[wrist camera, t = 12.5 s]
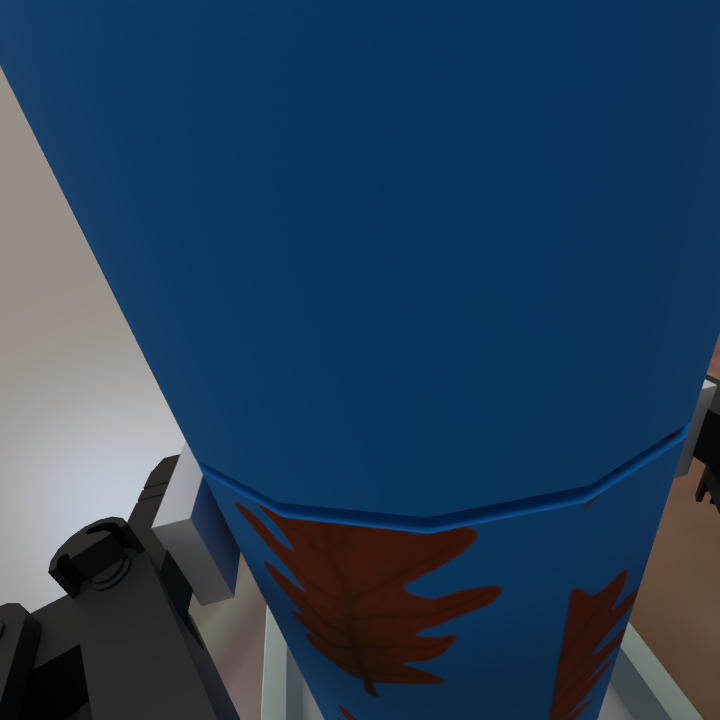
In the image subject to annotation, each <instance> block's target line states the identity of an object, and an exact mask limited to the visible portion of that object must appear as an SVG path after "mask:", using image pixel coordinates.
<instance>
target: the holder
mask: <svg viewBox="0 0 720 720" xmlns="http://www.w3.org/2000/svg"><path fill="white" fill-rule="evenodd" d="M261 720H324V718H323V716H322V714H321V712H320V710H319V708H318V706H317V704H316V702H315V700H314V698H313V696H312V694H311V692H310V690H309V688H308V686H307V684H306V682H305V680H304V678H303V676H302V674H301V672H300V670H299V668H298V665H297V663H296V661H295V659H294V657H293V655H292V653H291V651H290V649H289V647H288V645H287V643H286V641H285V639H284V637H283V635H282V633H281V631H280V629H279V627H278V625H277V623H276V621H275V619H274V617H273V615H272V613H271V611H270V609H269V607H268V605H267V615H266V633H265V651H264V670H263V688H262V706H261ZM597 720H703V718H702V717H701V716H700V714H699V713H698V712H697V710H696V709H695V708H694V707H693V705H692V704H691V703H690V701H689V700H688V699H687V697H686V696H685V695H684V693H683V692H682V691H681V689H680V688H679V687H678V686H677V684H676V683H675V682H674V680H673V679H672V678H671V676H670V675H669V674H668V672H667V671H666V670H665V669H664V667H663V666H662V665H661V663H660V662H659V661H658V659H657V658H656V657H655V655H654V654H653V653H652V651H651V650H650V649H649V648H648V646H647V645H646V644H645V642H644V641H643V640H642V638H641V637H640V636H639V634H638V633H637V632H636V631H635V629H634V628H633V627H632V625H631V624H630V623H629V621H628V624H627V628H626V631H625V634H624V637H623V640H622V643H621V647H620V650H619V653H618V656H617V659H616V662H615V666H614V669H613V672H612V675H611V678H610V681H609V685H608V688H607V691H606V694H605V697H604V700H603V704H602V707H601V710H600V713H599V716H598V719H597Z"/></svg>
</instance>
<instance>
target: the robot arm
mask: <svg viewBox="0 0 720 720" xmlns="http://www.w3.org/2000/svg"><path fill="white" fill-rule="evenodd" d="M693 456H694V457H695V458H697V459H698V460H700V461H701V462H703V463H704V464H706V467H705V469H704V472H703V475H702V478H701V480H700V483H699V486H698V489H697V491H696V494H695V497H696V501H697V502H702V500H703V497H704V495H705V492H708V491H709V492H710V494H711V496H712V497H711V500H710V504H715V505H716V507H717V509H718V511H719V513H720V380H718V379H716V378H714V377H712V376H710V375H708V374H706V377H705V380H704V384H703V387H702V390H701V393H700V396H699V399H698V403H697V406H696V409H695V412H694V415H693V418H692V422H691V425H690V428H689V431H688V434H687V437H686V441H685V444H684V447H683V450H682V453H681V456H680V460H679V463H678V466H677V469H676V472H675V475H674V478H677V477H681V476H684V475H687V474H688V471H689V468H690V465H691V462H692V459H693ZM239 558H240V548H239V546H238V544H237V542H236V540H235V538H234V536H233V534H232V532H231V530H230V528H229V526H228V524H227V522H226V520H225V518H224V516H223V514H222V512H221V510H220V508H219V506H218V504H217V502H216V500H215V498H214V496H213V494H212V492H211V490H210V488H209V486H208V484H207V482H206V480H205V478H204V476H203V474H202V472H201V470H200V467H199V465H198V463H197V461H196V459H195V458H194V456H193V454H192V452H191V450H190V448H189V446H188V444H187V441H186V442H185V444H184V447H183V450H182V452H181V454H179V455H175V456H171V457H167V458H164V459H163V460H162V461H161V462H160V463H159V464H158V466H156V468H155V469H154V470H153V471H152V472H151V473H150V476H149V478H148V480H147V482H146V484H145V486H144V490H143V491H142V492H141V494H140V497H139V499H138V503H136V505H135V507H134V509H133V511H132V513H131V516H130V518H129V520H128V522H126V521H125V520H124V519H123V518H118V517H109V518H105V519H101V520H98V521H96V522H94V523H92V524H90V525H88V526H85V527H84V528H82V529H81V530H80V531H78V532H77V533H75V534H74V535H73V536H71V537H70V538H69V539H68V540H67V541H66V542H65V543H64V544H63V545H62V546H61V547H60V548H59V549H58V551H57V552H56V554H55V555H54V557H53V558H52V560H51V562H50V566H49V571H48V573H49V574H50V575H51V576H52V577H53V578H54V579H55V580H56V581H57V583H59V585H60V586H61V587H62V588H63V589H64V590H65V591H66V592H67V594H68V595H66V596H64V597H62V598H60V599H58V600H56V601H54V602H52V603H50V604H48V605H46V606H44V607H42V608H41V609H39V610H36V611H35V612H33V613H31V614H30V613H29V612H28V611H27V610H25V608H24V607H22V606H21V605H20V604H19V603H7V604H4V605H2V606H0V720H240V718H239V716H238V714H237V712H236V709H235V707H234V705H233V703H232V701H231V699H230V697H229V695H228V692H227V690H226V688H225V686H224V684H223V682H222V680H221V677H220V675H219V673H218V671H217V669H216V667H215V665H214V663H213V660H212V658H211V656H210V654H209V652H208V650H207V648H206V645H205V643H204V641H203V639H202V637H201V635H200V633H199V631H198V628H197V626H196V624H195V622H194V620H193V618H192V617H191V615H190V614H189V612H188V609H189V605H190V601H191V597H192V592H193V594H194V595H195V597H196V598H197V600H198V601H199V603H200V604H201V606H204V605H208V604H211V603H215V602H219V601H222V600H226V599H230V598H233V597H234V595H235V588H236V580H237V573H238V565H239Z"/></svg>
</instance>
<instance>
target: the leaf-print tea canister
mask: <svg viewBox="0 0 720 720" xmlns="http://www.w3.org/2000/svg"><path fill="white" fill-rule="evenodd" d="M0 66H1V68H2V70H3V72H4V74H5V76H6V78H7V80H8V82H9V84H10V86H11V88H12V90H13V92H14V94H15V96H16V98H17V100H18V102H19V105H20V107H21V109H22V110H23V112H24V115H25V116H26V119H27V121H28V123H29V125H30V127H31V128H32V131H33V133H34V135H35V137H36V139H37V141H38V143H39V145H40V147H41V149H42V151H43V153H44V155H45V157H46V159H47V161H48V163H49V165H50V167H51V169H52V171H53V173H54V175H55V177H56V179H57V181H58V183H59V185H60V187H61V189H62V191H63V193H64V195H65V197H66V199H67V201H68V203H69V205H70V207H71V209H72V211H73V213H74V215H75V218H76V219H77V221H78V224H79V225H80V227H81V229H82V232H83V234H84V236H85V238H86V240H87V242H88V244H89V246H90V248H91V250H92V252H93V254H94V256H95V258H96V260H97V262H98V264H99V266H100V268H101V270H102V272H103V274H104V276H105V278H106V280H107V282H108V284H109V286H110V288H111V290H112V292H113V294H114V296H115V298H116V300H117V302H118V304H119V306H120V308H121V310H122V312H123V314H124V316H125V318H126V320H127V322H128V324H129V326H130V328H131V331H132V333H133V335H134V336H135V339H136V341H137V343H138V345H139V347H140V348H141V351H142V352H143V355H144V357H145V359H146V361H147V363H148V365H149V367H150V369H151V371H152V373H153V375H154V377H155V379H156V381H157V383H158V385H159V387H160V389H161V391H162V393H163V395H164V397H165V399H166V401H167V403H168V405H169V407H170V409H171V411H172V413H173V415H174V417H175V419H176V421H177V423H178V425H179V427H180V429H181V431H182V433H183V435H184V437H185V439H186V441H187V444H188V446H189V448H190V450H191V452H192V454H193V456H194V458H195V459H196V461H197V463H198V465H199V467H200V470H201V472H202V474H203V476H204V478H205V480H206V482H207V484H208V486H209V488H210V490H211V492H212V494H213V496H214V498H215V500H216V502H217V504H218V506H219V508H220V510H221V512H222V514H223V516H224V518H225V520H226V522H227V524H228V526H229V528H230V530H231V532H232V534H233V536H234V538H235V540H236V542H237V544H238V546H239V548H240V550H241V552H242V555H243V557H244V559H245V561H246V563H247V565H248V567H249V569H250V571H251V573H252V575H253V577H254V579H255V581H256V583H257V585H258V587H259V589H260V591H261V593H262V595H263V597H264V599H265V601H266V603H267V605H268V607H269V609H270V611H271V613H272V615H273V617H274V619H275V621H276V623H277V625H278V627H279V629H280V631H281V633H282V635H283V637H284V639H285V641H286V643H287V645H288V647H289V649H290V651H291V653H292V655H293V657H294V659H295V661H296V663H297V665H298V668H299V670H300V672H301V674H302V676H303V678H304V680H305V682H306V684H307V686H308V688H309V690H310V692H311V694H312V696H313V698H314V700H315V702H316V704H317V706H318V708H319V710H320V712H321V714H322V716H323V718H324V720H597V719H598V716H599V713H600V710H601V707H602V704H603V700H604V697H605V694H606V691H607V688H608V685H609V681H610V678H611V675H612V672H613V669H614V666H615V662H616V659H617V656H618V653H619V650H620V647H621V643H622V640H623V637H624V634H625V631H626V628H627V624H628V621H629V618H630V615H631V612H632V609H633V605H634V602H635V599H636V596H637V593H638V590H639V586H640V583H641V580H642V577H643V574H644V571H645V567H646V564H647V561H648V558H649V555H650V552H651V548H652V545H653V542H654V539H655V536H656V532H657V529H658V526H659V523H660V520H661V517H662V513H663V510H664V507H665V504H666V501H667V498H668V494H669V491H670V488H671V485H672V482H673V479H674V475H675V472H676V469H677V466H678V463H679V460H680V456H681V453H682V450H683V447H684V444H685V441H686V437H687V434H688V431H689V428H690V425H691V422H692V418H693V415H694V412H695V409H696V406H697V403H698V399H699V396H700V393H701V390H702V387H703V384H704V380H705V377H706V374H707V371H708V367H709V364H710V361H711V358H712V355H713V352H714V349H715V345H716V342H717V339H718V336H719V333H720V0H0Z"/></svg>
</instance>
